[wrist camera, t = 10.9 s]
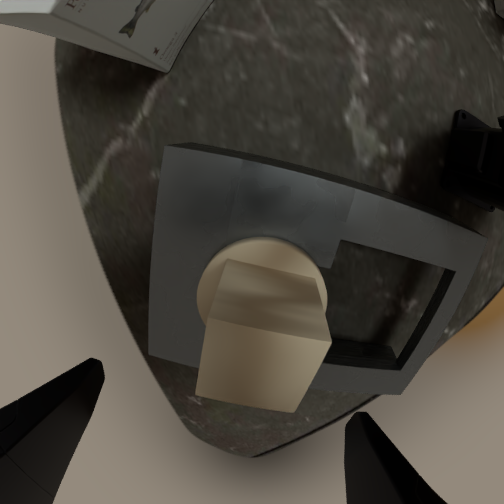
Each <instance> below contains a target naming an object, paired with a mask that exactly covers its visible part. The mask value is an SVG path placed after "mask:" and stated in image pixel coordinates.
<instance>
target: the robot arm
mask: <svg viewBox="0 0 504 504" xmlns="http://www.w3.org/2000/svg"><path fill="white" fill-rule="evenodd" d="M461 114H463V118H462V116H461ZM498 122H499V126H500V127H501V128H502V129H498V128H491V127H489V126H488V125H486V124H485V123H483V122H482V121H481V120H479V119H478V118H476V117H475V116H473V115H471V114H470V113H468V112H467V111H465V110H458V111H457V113H456V117H455V123H454V128H453V130H452V134H451V139H450V143H449V148H448V152H447V156H446V163H445V167H444V170H443V174H442V178H441V182H440V184H441V187H442V188H443V189H445V190H447V191H449V192H451V193H454V194H456V195H458V196H460V197H462V198H464V199H466V200H468V201H470V202H472V203H474V204H476V205H478V206H480V207H482V208H484V209H486V210H487V211H489V212H493V211H494V210H495V207H496V208H498V209H500V210H502V211H504V116H501V117H498ZM446 181H448V185H447V186H446ZM490 205H491V207H490ZM104 380H105V375H104V370H103V365H102V362H101V361H100V360H97V359H94V358H89V359H87V360H86V361H84V362H82V363H80V364H79V365H77V366H75V367H73V368H72V369H70V370H69V371H67V372H65V373H63V374H61V375H60V376H58V377H56V378H54V379H53V380H51V381H49V382H47V383H46V384H44V385H42V386H41V387H39V388H37V389H35V390H33V391H32V392H30V393H28V394H26V395H25V396H23V397H21V398H19V399H18V400H16V401H14V402H12V403H10V404H8V405H6V406H4V407H3V408H1V409H0V504H52V503H53V501H54V498H55V496H56V493H57V491H58V488H59V486H60V484H61V481H62V479H63V477H64V474H65V472H66V470H67V467H68V465H69V463H70V461H71V458H72V456H73V454H74V452H75V449H76V447H77V445H78V443H79V441H80V439H81V437H82V435H83V433H84V431H85V428H86V427H87V424H88V422H89V420H90V418H91V416H92V413H93V411H94V408H95V405H96V402H97V400H98V396H99V394H100V391H101V388H102V386H103V383H104ZM344 453H345V454H344V467H345V468H344V469H345V481H346V498H347V504H447V503H446V502H445V501H444V500H443V499H442V498H441V497H440V496H438V494H437V493H436V492H435V491H434V490H433V489H431V487H430V486H429V485H428V484H427V483H426V482H425V481H424V479H423V478H422V477H421V476H420V475H419V474H418V473H417V471H416V470H415V469H414V468H413V467H412V465H411V464H410V463H409V462H408V461H407V459H406V458H405V457H404V456H403V455H402V454H401V452H400V451H399V450H398V449H397V448H396V446H395V445H394V444H393V443H392V442H391V440H390V439H389V438H388V437H387V436H386V434H385V433H384V432H383V431H382V430H381V428H380V427H379V426H378V425H377V424H376V422H375V421H374V420H373V419H372V418H371V416H370V415H369V414H368V413H367V412H356V413H354V415H353V416H352V417H351V419H350V420H349V421H348V423H347V424H346V427H345V452H344Z"/></svg>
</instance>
